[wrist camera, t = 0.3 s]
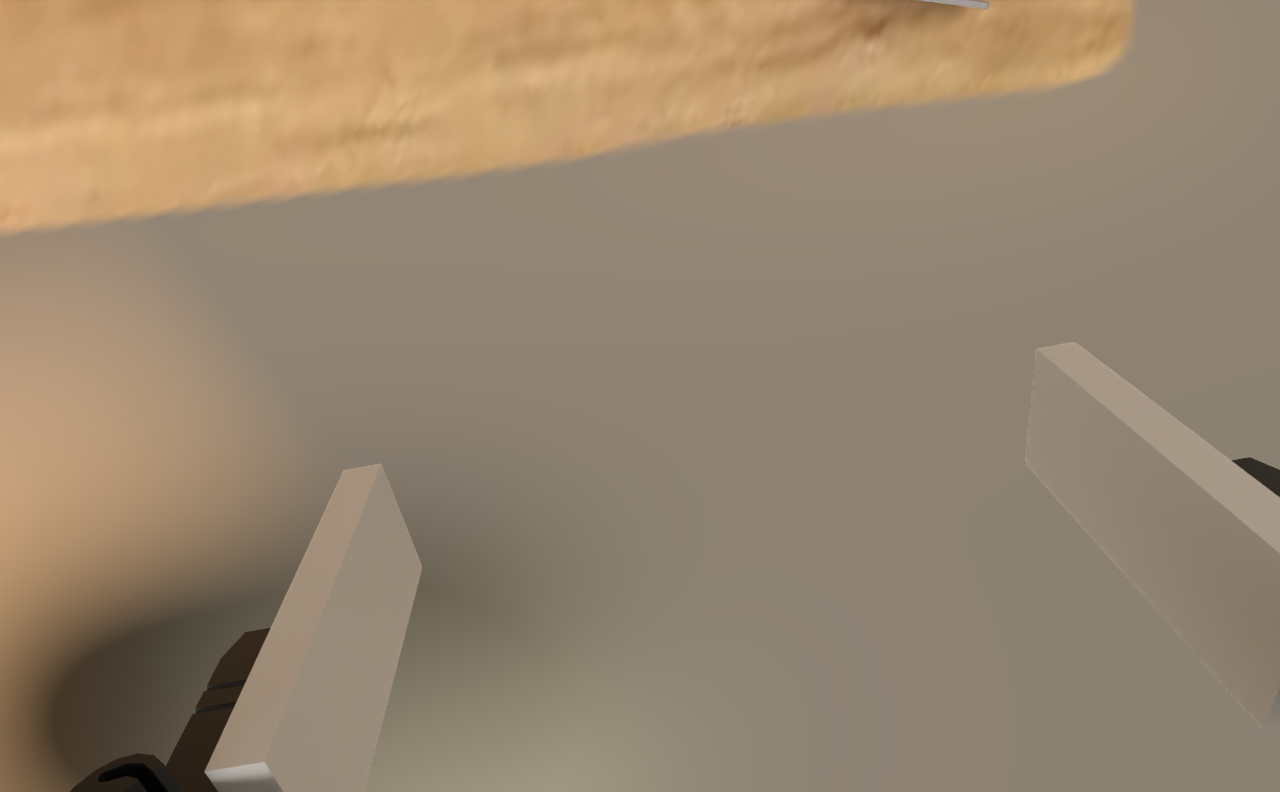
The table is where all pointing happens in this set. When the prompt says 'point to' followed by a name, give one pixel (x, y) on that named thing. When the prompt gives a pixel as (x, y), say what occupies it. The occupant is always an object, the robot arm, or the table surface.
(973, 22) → the table surface
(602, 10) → the table surface
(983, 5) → the bracket
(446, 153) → the table surface
